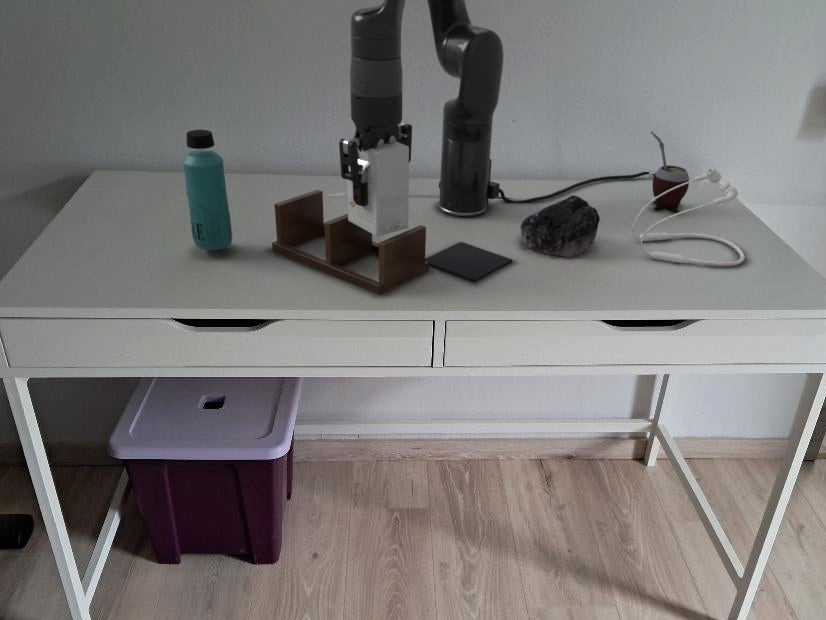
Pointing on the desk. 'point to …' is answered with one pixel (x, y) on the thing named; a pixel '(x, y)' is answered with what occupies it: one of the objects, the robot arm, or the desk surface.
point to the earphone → (729, 195)
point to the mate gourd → (669, 184)
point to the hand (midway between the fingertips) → (377, 198)
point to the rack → (347, 244)
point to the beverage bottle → (206, 193)
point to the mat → (467, 261)
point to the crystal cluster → (561, 227)
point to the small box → (383, 190)
